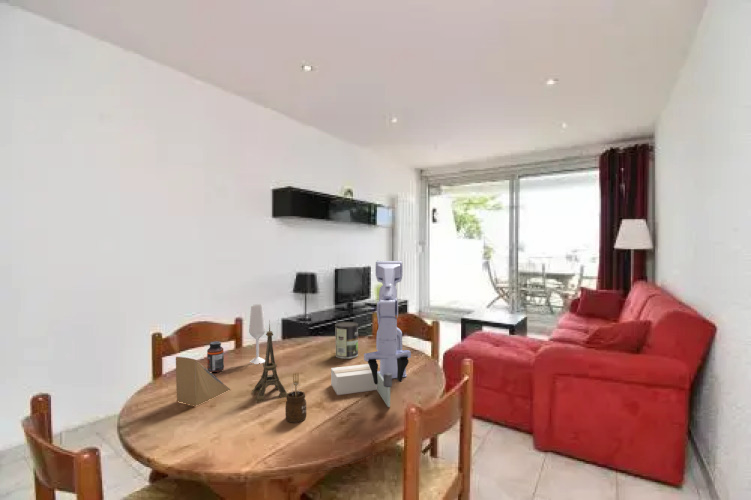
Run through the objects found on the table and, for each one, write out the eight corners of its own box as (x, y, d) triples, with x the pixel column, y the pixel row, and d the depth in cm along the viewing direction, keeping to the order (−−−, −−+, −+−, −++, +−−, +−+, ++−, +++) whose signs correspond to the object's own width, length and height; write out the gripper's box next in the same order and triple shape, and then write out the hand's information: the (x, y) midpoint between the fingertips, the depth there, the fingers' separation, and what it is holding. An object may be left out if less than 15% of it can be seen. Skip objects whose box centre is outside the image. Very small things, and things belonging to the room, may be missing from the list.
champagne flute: (260, 358, 167) (260, 303, 167) (268, 361, 163) (268, 305, 162) (246, 361, 162) (245, 305, 162) (254, 365, 158) (253, 307, 157)
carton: (368, 380, 140) (368, 363, 140) (377, 389, 131) (377, 371, 131) (331, 384, 136) (330, 367, 136) (337, 395, 127) (337, 376, 127)
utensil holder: (285, 424, 107) (284, 381, 107) (285, 414, 113) (285, 373, 113) (306, 422, 108) (306, 380, 108) (306, 412, 114) (305, 372, 114)
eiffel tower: (256, 402, 121) (255, 324, 121) (251, 390, 131) (251, 318, 130) (289, 396, 126) (288, 321, 125) (282, 385, 135) (282, 315, 135)
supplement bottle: (205, 370, 151) (205, 342, 151) (221, 367, 155) (221, 339, 155) (209, 374, 147) (209, 345, 146) (225, 371, 150) (225, 342, 150)
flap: (374, 390, 130) (374, 362, 130) (381, 389, 131) (381, 362, 130) (384, 407, 117) (384, 376, 117) (393, 406, 117) (393, 375, 117)
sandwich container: (232, 389, 132) (232, 346, 132) (196, 407, 118) (195, 359, 118) (213, 386, 135) (213, 344, 135) (176, 403, 121) (175, 356, 121)
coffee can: (358, 352, 176) (358, 321, 176) (357, 359, 166) (357, 326, 165) (336, 352, 176) (336, 321, 176) (333, 358, 166) (333, 326, 165)
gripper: (367, 343, 112) (367, 389, 113) (414, 340, 116) (414, 384, 116) (362, 337, 119) (362, 380, 120) (406, 334, 123) (406, 376, 123)
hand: (387, 382), depth 118 cm, fingers open, 7 cm apart
